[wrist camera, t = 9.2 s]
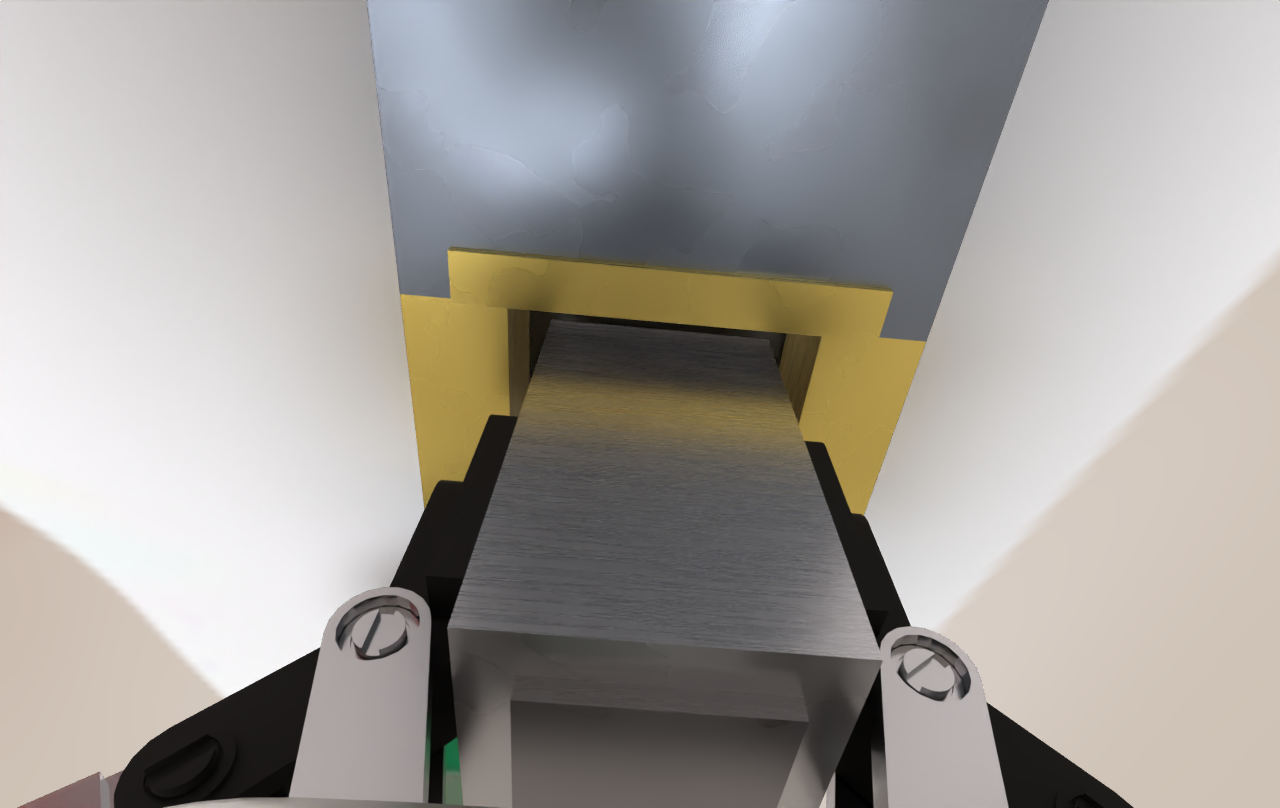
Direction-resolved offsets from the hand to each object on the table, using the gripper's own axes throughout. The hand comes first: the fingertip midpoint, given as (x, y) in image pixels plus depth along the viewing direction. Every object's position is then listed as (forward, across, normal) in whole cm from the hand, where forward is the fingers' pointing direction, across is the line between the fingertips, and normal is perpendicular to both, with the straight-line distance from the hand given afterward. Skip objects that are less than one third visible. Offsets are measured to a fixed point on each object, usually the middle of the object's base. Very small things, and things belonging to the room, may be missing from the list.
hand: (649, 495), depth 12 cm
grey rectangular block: (+3, 0, 0) cm, 3 cm away
